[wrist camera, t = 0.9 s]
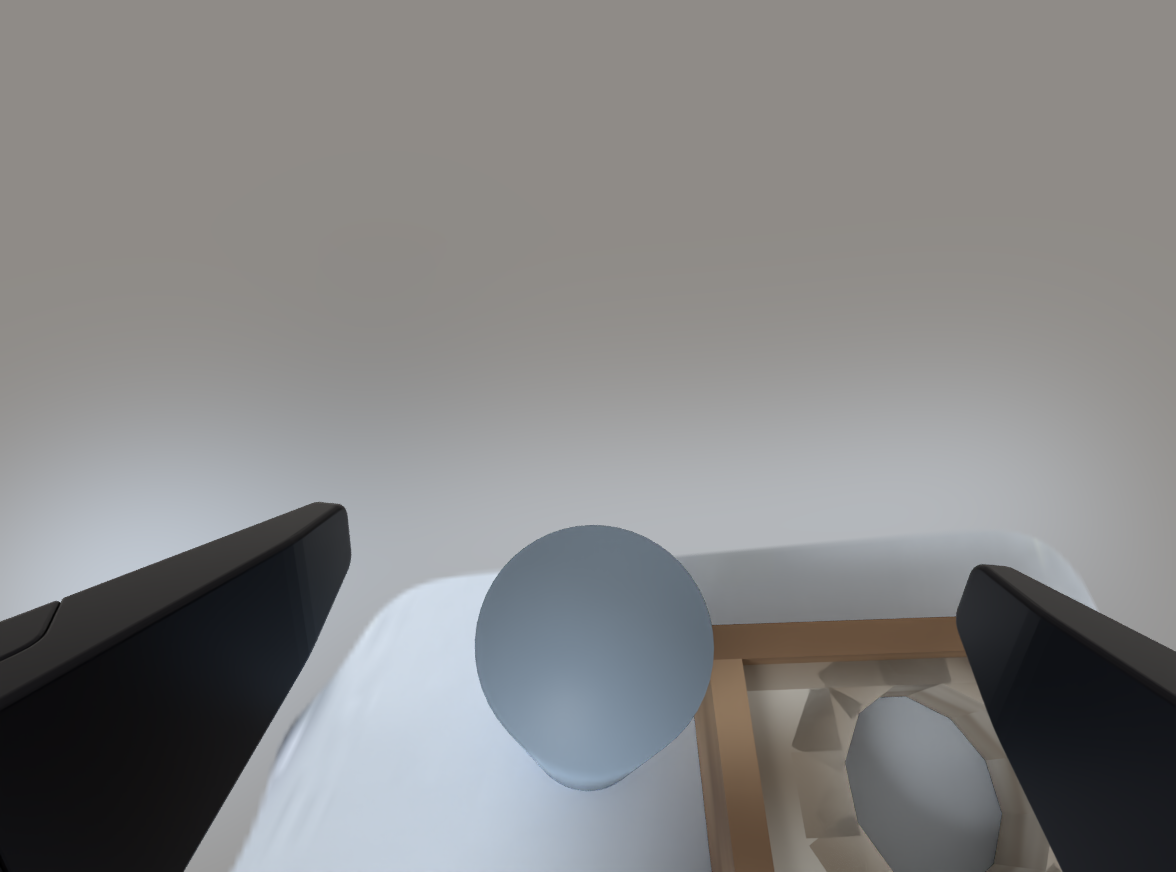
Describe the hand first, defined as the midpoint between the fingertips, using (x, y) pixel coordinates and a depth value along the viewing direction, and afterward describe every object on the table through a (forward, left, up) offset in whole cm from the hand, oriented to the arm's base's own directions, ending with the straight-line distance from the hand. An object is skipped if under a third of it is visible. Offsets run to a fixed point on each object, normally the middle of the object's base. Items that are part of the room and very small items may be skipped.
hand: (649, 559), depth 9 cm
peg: (-1, +1, -14) cm, 14 cm away
